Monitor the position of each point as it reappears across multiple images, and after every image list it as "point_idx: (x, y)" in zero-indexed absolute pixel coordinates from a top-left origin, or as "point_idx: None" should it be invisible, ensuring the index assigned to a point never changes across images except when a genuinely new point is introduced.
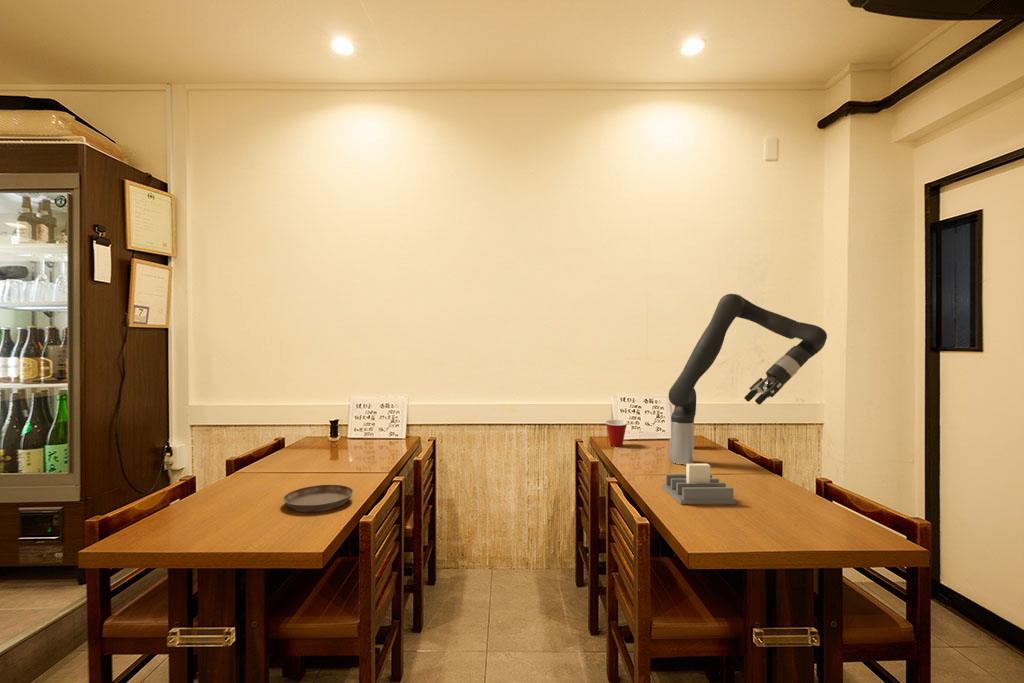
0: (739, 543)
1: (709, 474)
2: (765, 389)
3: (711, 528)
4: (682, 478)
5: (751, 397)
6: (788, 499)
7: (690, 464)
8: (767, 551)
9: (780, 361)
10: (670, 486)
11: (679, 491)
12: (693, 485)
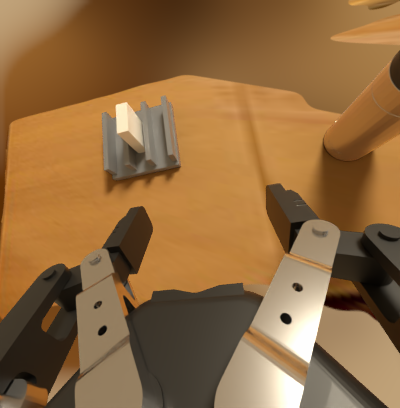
0: (20, 158)
1: (125, 140)
2: (95, 281)
3: (51, 142)
4: (145, 114)
5: (276, 226)
6: None
7: (121, 107)
8: (5, 175)
9: None
10: (160, 110)
11: None
12: None
